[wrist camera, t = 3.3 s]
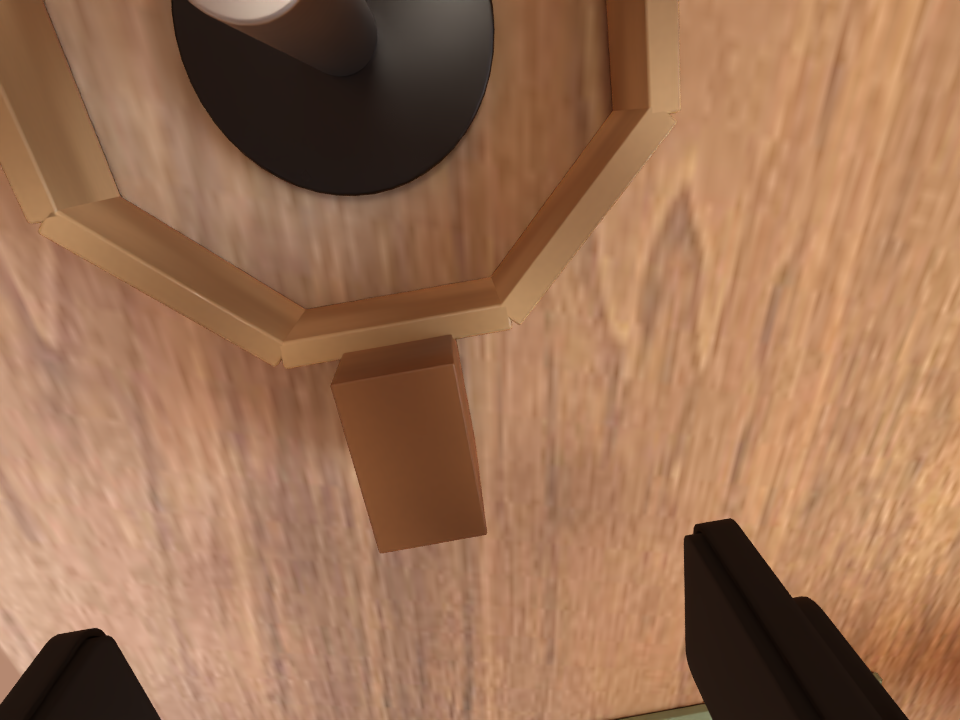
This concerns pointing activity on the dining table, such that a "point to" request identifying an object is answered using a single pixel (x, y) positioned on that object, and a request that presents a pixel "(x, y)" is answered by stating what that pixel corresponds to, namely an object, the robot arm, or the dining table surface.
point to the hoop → (351, 325)
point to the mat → (689, 712)
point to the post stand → (339, 83)
